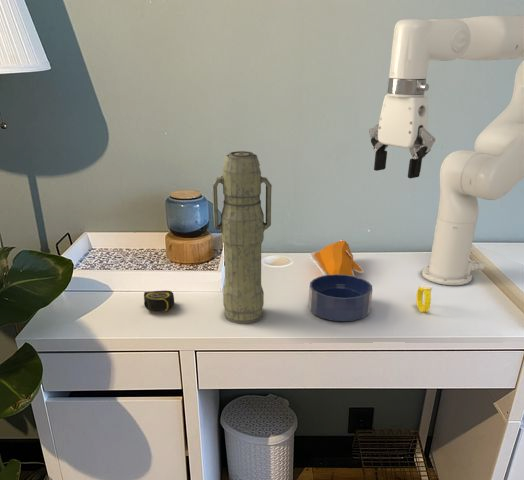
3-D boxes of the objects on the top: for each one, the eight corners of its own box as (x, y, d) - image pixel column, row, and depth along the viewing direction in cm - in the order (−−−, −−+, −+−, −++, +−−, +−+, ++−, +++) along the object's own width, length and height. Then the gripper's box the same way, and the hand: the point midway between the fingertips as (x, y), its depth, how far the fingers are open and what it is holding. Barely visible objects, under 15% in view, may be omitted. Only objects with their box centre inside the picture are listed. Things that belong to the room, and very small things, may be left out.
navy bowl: (358, 295, 135) (360, 272, 132) (378, 321, 123) (381, 296, 120) (302, 299, 133) (303, 276, 130) (317, 325, 121) (319, 300, 118)
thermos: (274, 321, 123) (276, 156, 106) (221, 326, 121) (215, 158, 104) (265, 304, 131) (266, 148, 113) (215, 309, 128) (208, 150, 111)
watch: (412, 304, 131) (415, 280, 128) (423, 304, 131) (427, 280, 128) (419, 315, 126) (423, 291, 123) (431, 315, 126) (435, 290, 123)
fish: (366, 240, 153) (314, 224, 152) (372, 292, 132) (312, 274, 130) (357, 261, 157) (306, 245, 156) (361, 314, 136) (303, 297, 134)
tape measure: (174, 302, 132) (173, 287, 130) (175, 314, 126) (174, 299, 124) (144, 304, 131) (143, 289, 129) (144, 316, 125) (143, 301, 123)
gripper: (452, 90, 111) (438, 178, 119) (386, 85, 123) (378, 165, 131) (428, 92, 107) (416, 183, 115) (362, 86, 119) (355, 169, 127)
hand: (396, 173), depth 123 cm, fingers open, 9 cm apart
